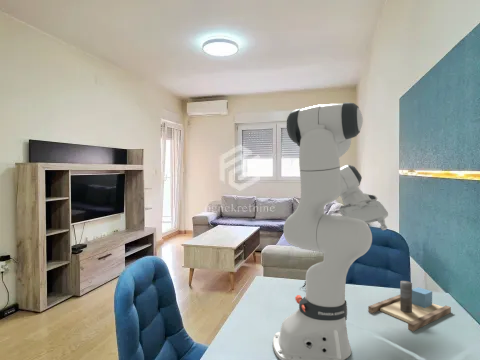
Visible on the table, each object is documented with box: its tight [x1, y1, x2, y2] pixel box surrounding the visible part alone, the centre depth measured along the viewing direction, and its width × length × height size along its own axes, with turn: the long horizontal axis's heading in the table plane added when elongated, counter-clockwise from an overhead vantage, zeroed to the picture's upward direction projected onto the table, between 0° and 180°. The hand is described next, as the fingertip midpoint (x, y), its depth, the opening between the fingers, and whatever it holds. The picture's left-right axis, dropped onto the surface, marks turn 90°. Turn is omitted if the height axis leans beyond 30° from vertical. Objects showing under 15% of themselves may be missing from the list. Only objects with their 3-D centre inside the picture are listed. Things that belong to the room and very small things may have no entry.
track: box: [367, 294, 452, 332], centre depth 107 cm, size 24×16×3 cm, turn 121°
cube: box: [412, 286, 433, 308], centre depth 111 cm, size 5×5×5 cm
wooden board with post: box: [379, 280, 443, 324], centre depth 107 cm, size 20×12×11 cm, turn 121°
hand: (376, 231), depth 115 cm, fingers open, 8 cm apart
